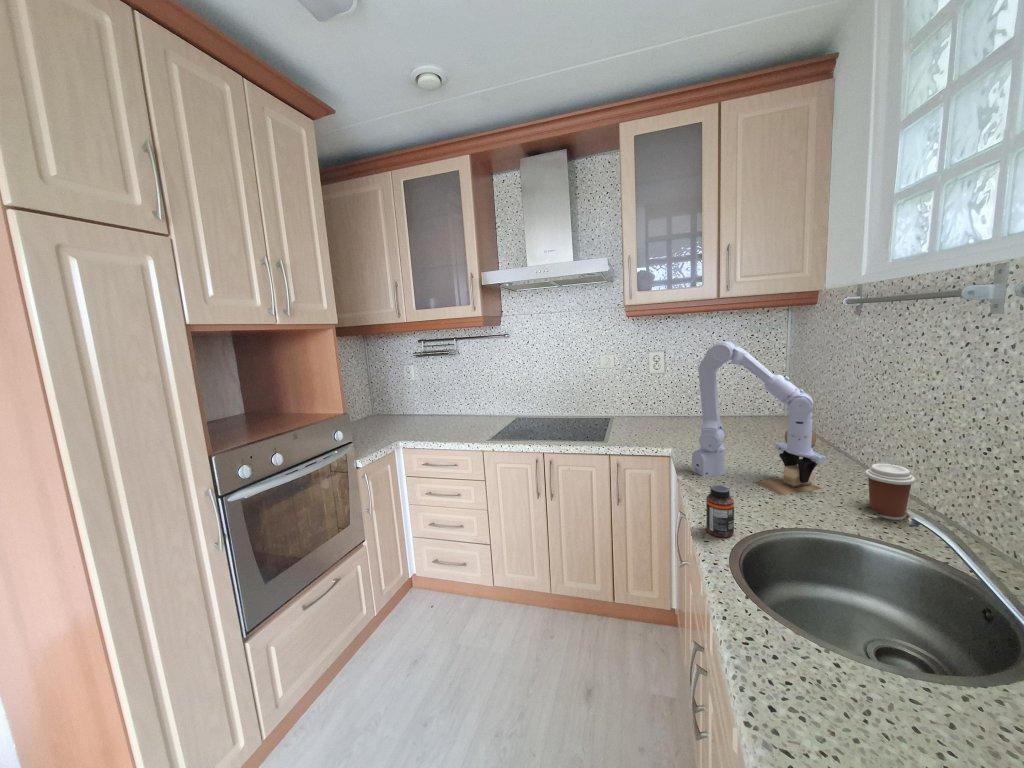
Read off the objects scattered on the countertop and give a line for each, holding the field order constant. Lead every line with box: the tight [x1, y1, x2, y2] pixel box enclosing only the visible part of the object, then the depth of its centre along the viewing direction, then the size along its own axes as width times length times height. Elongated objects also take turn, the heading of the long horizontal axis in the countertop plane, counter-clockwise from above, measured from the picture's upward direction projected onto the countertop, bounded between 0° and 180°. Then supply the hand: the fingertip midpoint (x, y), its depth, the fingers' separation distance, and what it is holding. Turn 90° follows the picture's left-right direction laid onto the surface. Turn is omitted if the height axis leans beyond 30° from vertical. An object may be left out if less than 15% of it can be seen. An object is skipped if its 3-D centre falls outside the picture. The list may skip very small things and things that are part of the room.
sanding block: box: [783, 464, 813, 487], centre depth 116 cm, size 6×4×5 cm, turn 100°
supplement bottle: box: [705, 484, 735, 539], centre depth 95 cm, size 6×6×11 cm
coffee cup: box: [864, 463, 917, 521], centre depth 98 cm, size 9×9×12 cm
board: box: [752, 476, 823, 496], centre depth 116 cm, size 14×10×1 cm
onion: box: [784, 429, 817, 449], centre depth 147 cm, size 10×9×10 cm
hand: (797, 479), depth 116 cm, fingers closed on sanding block, 4 cm apart
